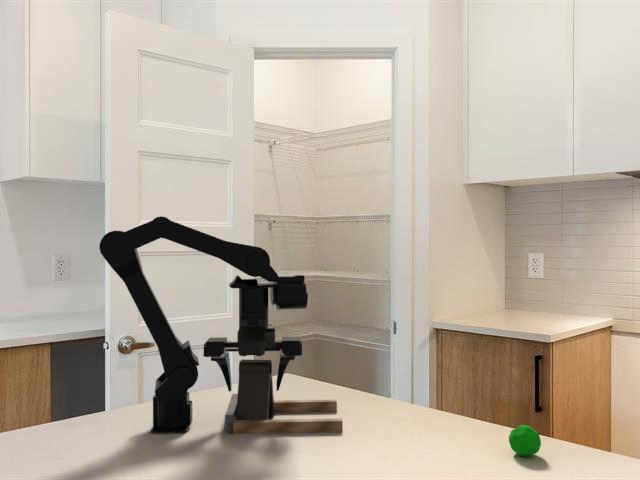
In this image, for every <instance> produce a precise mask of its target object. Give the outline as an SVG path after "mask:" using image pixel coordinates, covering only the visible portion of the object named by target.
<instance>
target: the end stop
mask: <svg viewBox="0 0 640 480" xmlns="http://www.w3.org/2000/svg"><path fill="white" fill-rule="evenodd" d="M237 397H238V393H232V394H231V397H230V401H229V404H228V407H227V408H226V411H225V415H224V417H225V418H224V425H225V427H224V429H225V430H224V431H225V432H224V433H225V435H235V434H234V430H233V431H232V432H231V433H229V432H228V431H230V430H232V429H234V426H233V428H231V427H232V426H231V427H230V428H229V429H228V427H229V426H228V424H229V423H231V424H230V425H234V420H236V410H237ZM232 423H233V424H232ZM228 433H229V434H228ZM232 433H233V434H232Z"/></svg>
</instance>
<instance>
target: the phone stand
mask: <svg viewBox="0 0 640 480" xmlns="http://www.w3.org/2000/svg"><path fill="white" fill-rule="evenodd" d="M237 394H238V397H237V410H236V420H274V417H275V416H276V412H275V409H274V401H275V399H274V398H275V397H274V383H273V361H272V360H271V359H240V360H239V364H238V384H237Z"/></svg>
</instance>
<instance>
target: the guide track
mask: <svg viewBox="0 0 640 480" xmlns="http://www.w3.org/2000/svg"><path fill="white" fill-rule="evenodd" d="M274 409H275V413H309V412H311V413H313V412H315V413H317V412H337V411H338V401H337V399H289V400H285V399H283V400H281V399H280V400H279V399H277V400H276V399H275V400H274ZM230 424H231V423H229V424H228V426H229V427H228V429H229V428H230V427H231V426H232V427H231V428H233V426H234V429H232V430H230V431H228V432H229V433H231V432H232V431H233V430H234V434H233V433H232V434H231V435H235V434H236V435H238V434H239V435H242V434H248V435H249V434H252V435H253V434H290V433H291V434H293V433H295V434H297V433H299V434H300V433H302V434H303V433H342V432H343V418H294V419H293V418H291V419H287V418H286V419H282V418H281V419H272V420H234V425H230ZM232 424H233V423H232ZM229 433H228V434H227V435H230V434H229Z"/></svg>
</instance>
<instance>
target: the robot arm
mask: <svg viewBox="0 0 640 480" xmlns="http://www.w3.org/2000/svg"><path fill="white" fill-rule="evenodd" d="M159 239H165V240H168V241H171V242H173V243H175V244H179V245H182V246H184V247H187V248H189V249H192V250H195V251H198V252H200V253H203V254H206V255H208V256H211V257H213V258H216V259H217V258H218V259H219V260H220V261H223V262H224V263H227V264H228V265H230V266H231V267H234V268H235V269H237V270H239V271H240V272H242V273H244V274H246V275H247V276H249V277H254V278H242V277H240V276H239V274H238V275H235V277H234V279H233V280H232V281H231V282H229V284H228V286H229V288H230V289H238V329H237V337H236V339H237V341H228V337H223V336H222V337H220V336H219V337H209V338H208V339H207V340H206V341H205V342H204V343H203V357H204V358H210V361H211V362H216V363H217V365H218V367H219V368H220V370H221V372H222V375H223V378H224V381H225V385H226V387H227V390H228V392H229V393H230V392H232V387H233V386H232V383H233V381H232V369H231V364H230V363H231V361H230V353H231V352H238V356H240V357H247V356H256V357H262V356H264V355H265V354H266V352H280V353H279V361H278V362H279V363H278V368H277V376H276V384H275V385H276V392H278V391H279V390H280V388H281V384H282V380H283V378H284V377H283V376H284V374H285V372H286V369H287V367H288V364H289V363H290V361H295V360H296V357H300V356H302V355H303V341H302V339H301V338H300V336H281V340H280V341H279V340H276V328H274V327H273V328H271V327H269V299H270V304H271V305H272V306H275V308H276V310H277V311H279V310H280V311H281V310H283V311H285V310H287V311H288V310H306V309H307V307H308V298H309V292H307V284H306V281H305V275H304V274H294V275H278V272H277V271H275V269H274V268H273V267H272V266H271V258H270V255H269V253H268V251H266V249H264V248H262V247H259V246H254V245H249V244H243V243H238V242H232V241H227V240H224V239H221V238H218V237H216V236H213V235H212V234H211V235H210V234H208V233H205V232H202V231H200V230H197V229H194V228H193V227H189V226H187V225H184V224H181V223H179V222H176V221H172V220H171V219H169V218H168V217H166V216H162V215H161V216H156V217H155V218H153V219H152V220H150V221H148V222H145V223H143V224H141V225H138V226H136V227H133V228H131V229H128V230H126V231H124V230H111V231H109V232H107V233H106V234H104V235H103V237H102V238H101V240H100V242H99V251H100V254H101V256H102V257H103V259H105V261H106V262H107V264H108V265H109V266H110V267H111V269H112V270H113V271H114V272H115V273H116V275H117V276H118V277H119V278H120V279H121V280H122V282H123V283H124V284H125V287H126V288H127V290H128V293H129V295H130V296H131V299H132V300H133V302H134V305H135V307H136V308H137V310H138V312H139V313H140V315H141V318H142V319H143V321H144V323H145V325H146V327H147V329H148V331H149V333H150V335H151V337H152V339H153V341H154V342H155V345H156V347H157V349H158V353H159V357H160V360H161V364H162V368H163V373H161V375H160V376H158V377H157V378H156V380H155V386H154V395H153V397H152V427H151V428H150V433H151V434H158V433H159V434H161V433H162V434H166V433H167V434H168V433H170V434H171V433H186V432H187V431H188V430H189V427H190V426H191V425H192V423H193V401H192V400H190V391H188V390H189V389H191V388H192V387H194V385H195V384H196V382H197V381H198V378H199V371H198V370H199V369H198V366H200V362H199V358H198V356H197V355H196V354H195V353H194V352H193V350H192V346H191V343H190V340H186V341H185V342H184V343H182V341H181V340H180V339H179V338H178V337H177V335H176V334H175V332H174V330H173V328H172V326H171V323H170V322H169V320H168V318H167V316H166V314H165V312H164V309H163V308H162V307H161V304H160V301H158V299H157V296H156V295H155V292H154V291H153V289H152V286H151V285H150V282H149V281H148V279H147V277H146V274H145V273H144V270H143V265H142V262H141V259H140V255H139V252H138V248H141V247H143V246H145V245H148V244H150V243H152V242H155V241H157V240H159ZM257 277H260V278H262V279H263V280H265V281H267V282H270V283H258V279H257ZM269 289H270V290H269ZM269 291H270V292H269ZM269 294H270V295H269Z"/></svg>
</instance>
